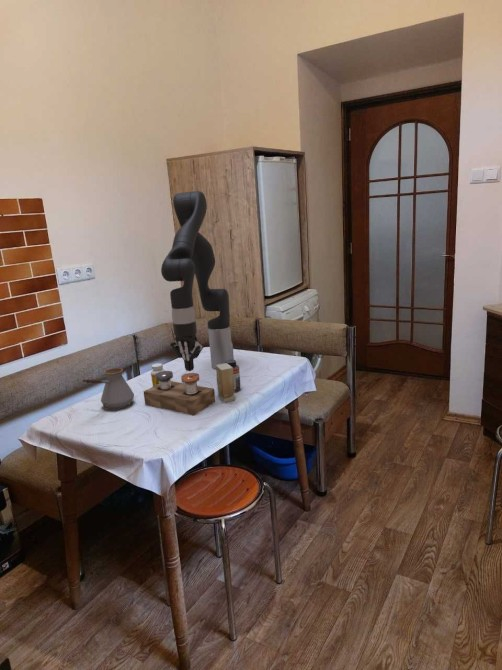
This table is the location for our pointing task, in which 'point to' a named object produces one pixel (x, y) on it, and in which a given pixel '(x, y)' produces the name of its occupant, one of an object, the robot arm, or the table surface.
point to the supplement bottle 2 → (235, 374)
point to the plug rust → (190, 383)
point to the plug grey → (164, 379)
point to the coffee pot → (114, 389)
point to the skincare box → (225, 382)
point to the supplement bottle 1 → (155, 370)
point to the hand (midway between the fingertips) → (189, 370)
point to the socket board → (179, 398)
